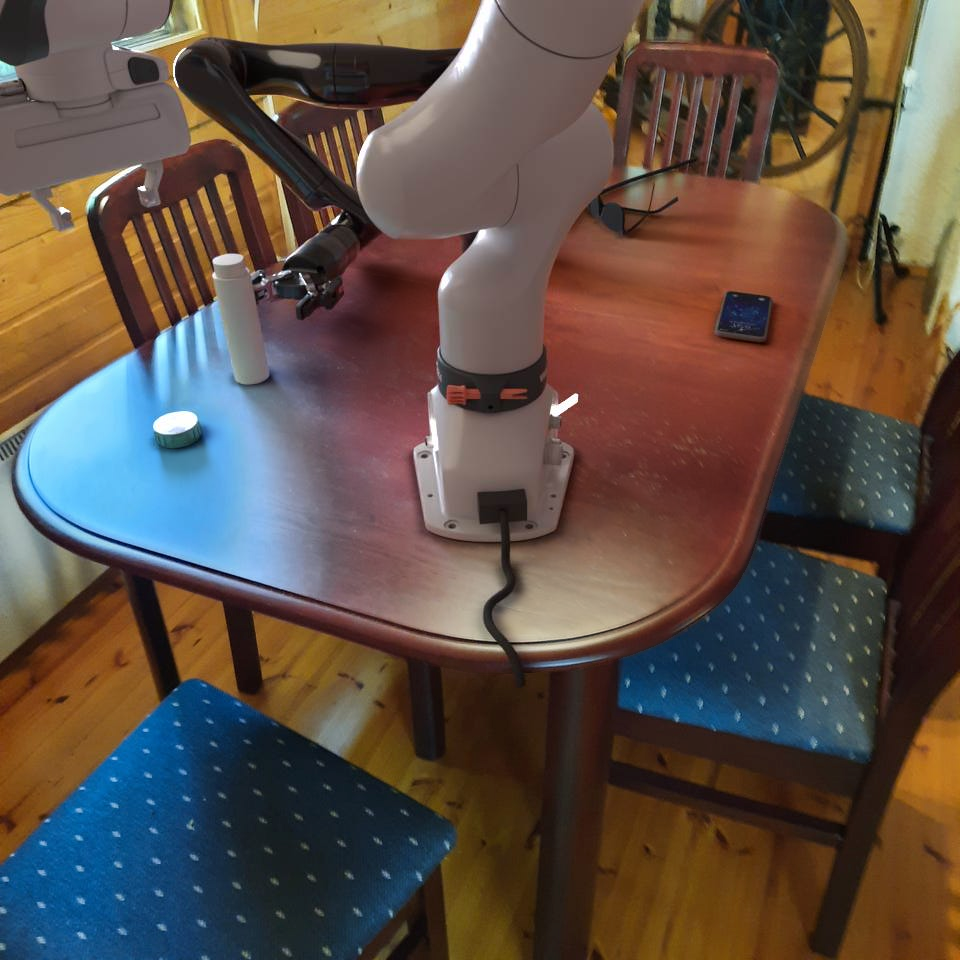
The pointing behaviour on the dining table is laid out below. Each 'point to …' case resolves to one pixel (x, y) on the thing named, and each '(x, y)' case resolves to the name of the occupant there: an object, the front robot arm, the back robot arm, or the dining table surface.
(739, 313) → the smartphone
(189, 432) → the lid
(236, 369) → the white cylinder
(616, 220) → the sunglasses
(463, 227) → the front robot arm
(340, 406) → the dining table surface
